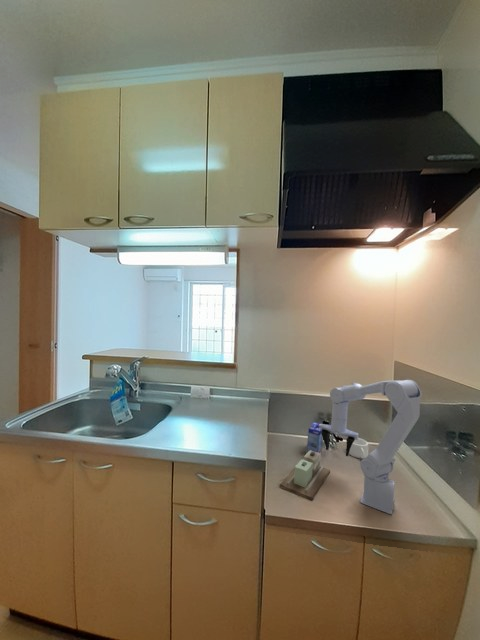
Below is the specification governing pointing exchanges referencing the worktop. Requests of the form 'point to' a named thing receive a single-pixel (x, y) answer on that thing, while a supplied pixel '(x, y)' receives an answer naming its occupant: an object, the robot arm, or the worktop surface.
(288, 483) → the rail board
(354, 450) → the mug
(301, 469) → the module
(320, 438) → the ink cartridge box
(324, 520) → the worktop surface
